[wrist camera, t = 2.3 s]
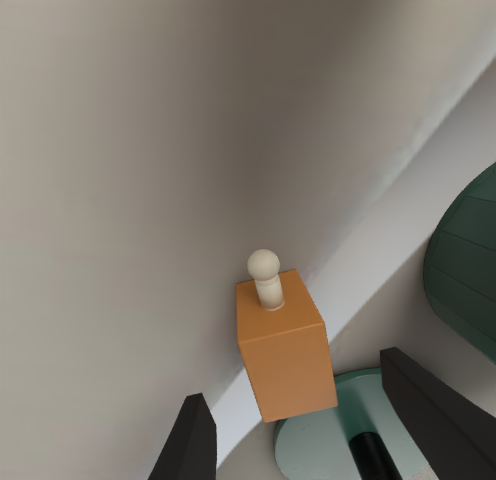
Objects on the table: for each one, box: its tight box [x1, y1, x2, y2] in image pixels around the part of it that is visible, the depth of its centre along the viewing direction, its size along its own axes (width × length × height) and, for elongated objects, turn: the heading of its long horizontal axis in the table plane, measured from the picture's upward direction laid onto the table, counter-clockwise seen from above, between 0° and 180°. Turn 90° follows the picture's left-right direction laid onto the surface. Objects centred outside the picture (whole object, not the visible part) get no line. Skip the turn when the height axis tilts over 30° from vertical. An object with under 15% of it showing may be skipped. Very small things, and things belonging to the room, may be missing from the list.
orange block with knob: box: [236, 249, 338, 423], centre depth 12 cm, size 8×4×5 cm, turn 13°
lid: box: [274, 368, 429, 480], centre depth 17 cm, size 13×13×5 cm
